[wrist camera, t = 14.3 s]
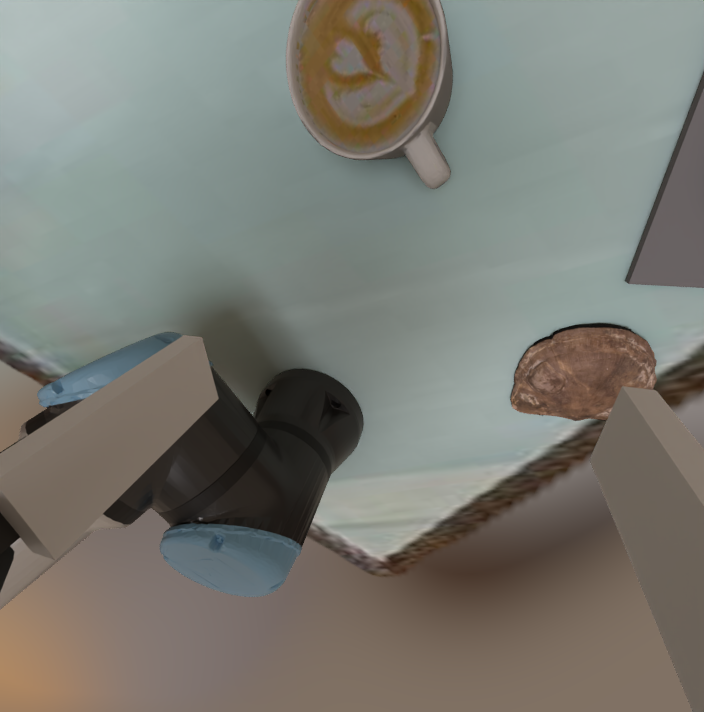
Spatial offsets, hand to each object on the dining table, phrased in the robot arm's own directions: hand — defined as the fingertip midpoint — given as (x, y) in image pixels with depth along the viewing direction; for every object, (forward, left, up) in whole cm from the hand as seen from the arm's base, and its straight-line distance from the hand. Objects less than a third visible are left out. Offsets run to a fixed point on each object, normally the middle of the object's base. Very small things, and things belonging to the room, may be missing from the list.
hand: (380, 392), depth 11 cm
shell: (-14, -16, -27) cm, 35 cm away
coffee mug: (+10, +4, -27) cm, 29 cm away
